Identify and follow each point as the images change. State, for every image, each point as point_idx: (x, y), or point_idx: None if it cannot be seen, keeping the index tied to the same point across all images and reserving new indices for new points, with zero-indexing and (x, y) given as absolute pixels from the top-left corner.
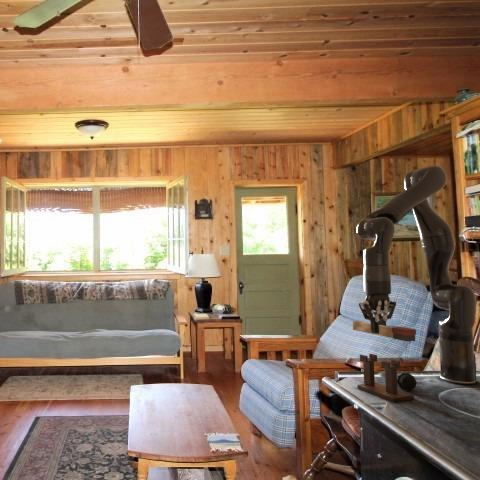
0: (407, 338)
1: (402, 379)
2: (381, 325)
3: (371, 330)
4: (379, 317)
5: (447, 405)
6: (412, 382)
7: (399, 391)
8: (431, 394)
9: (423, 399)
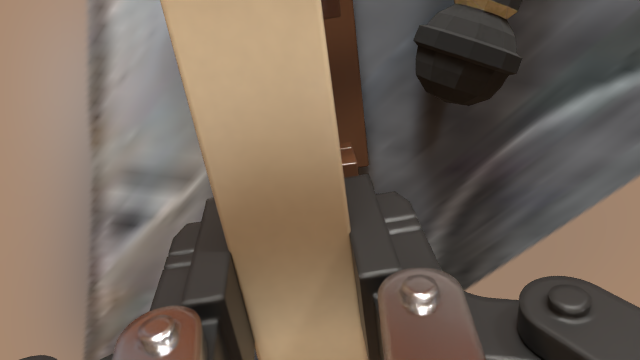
0: None
1: (425, 76)
2: (323, 321)
3: (183, 236)
4: (399, 339)
5: (434, 235)
6: (455, 103)
7: (346, 110)
8: (508, 115)
9: (405, 166)
